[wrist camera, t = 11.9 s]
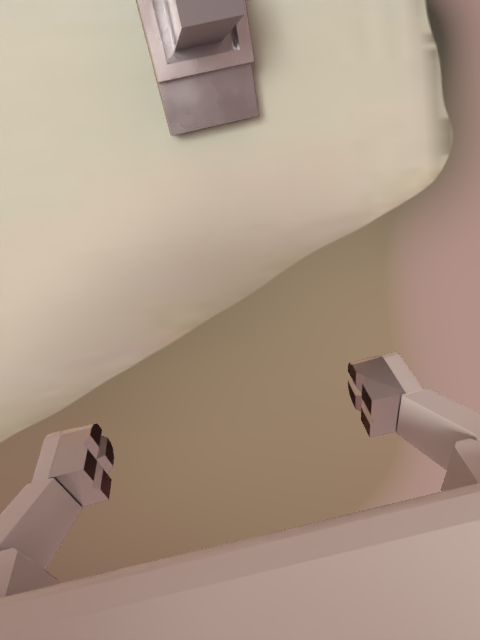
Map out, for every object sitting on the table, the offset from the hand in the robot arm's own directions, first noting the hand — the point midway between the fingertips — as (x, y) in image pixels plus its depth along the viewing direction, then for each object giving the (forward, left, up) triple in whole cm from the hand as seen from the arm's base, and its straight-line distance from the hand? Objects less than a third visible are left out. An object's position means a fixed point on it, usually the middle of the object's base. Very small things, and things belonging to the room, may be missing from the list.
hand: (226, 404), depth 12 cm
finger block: (+5, +15, -28) cm, 32 cm away
